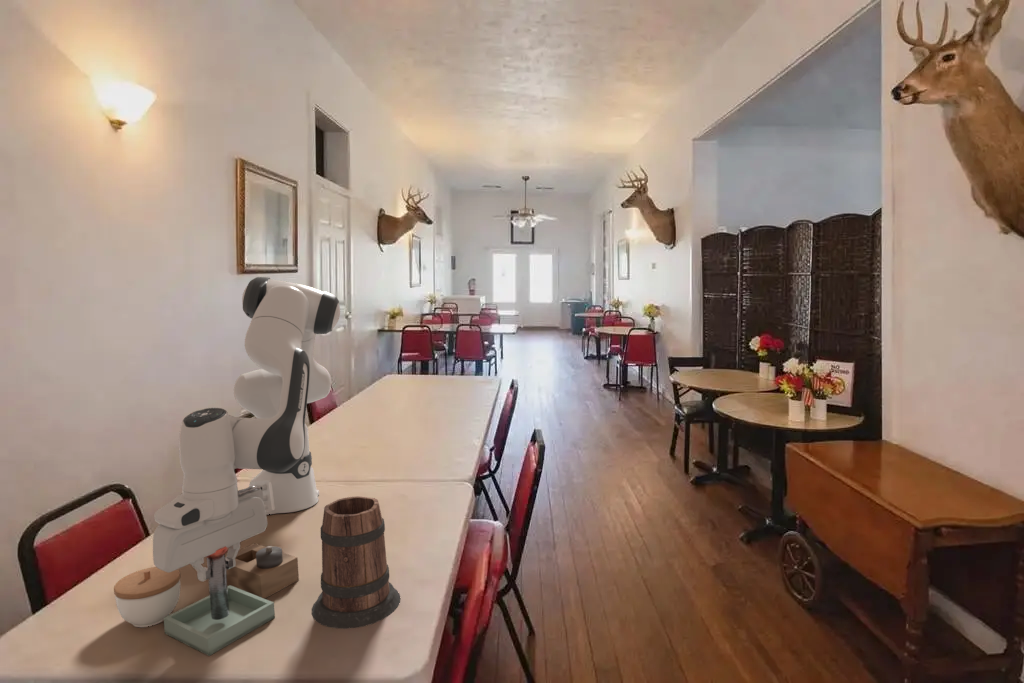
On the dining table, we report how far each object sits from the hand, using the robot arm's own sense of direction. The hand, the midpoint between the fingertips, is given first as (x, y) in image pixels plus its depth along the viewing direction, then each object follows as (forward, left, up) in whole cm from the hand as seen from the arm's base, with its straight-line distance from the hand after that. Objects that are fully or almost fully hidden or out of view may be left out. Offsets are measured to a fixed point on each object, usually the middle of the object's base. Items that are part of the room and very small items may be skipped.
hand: (217, 573), depth 111 cm
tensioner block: (-8, +14, -10) cm, 19 cm away
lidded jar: (-14, -5, -10) cm, 18 cm away
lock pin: (0, 0, -8) cm, 8 cm away
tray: (0, 0, -10) cm, 10 cm away
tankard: (+14, +20, -10) cm, 26 cm away
